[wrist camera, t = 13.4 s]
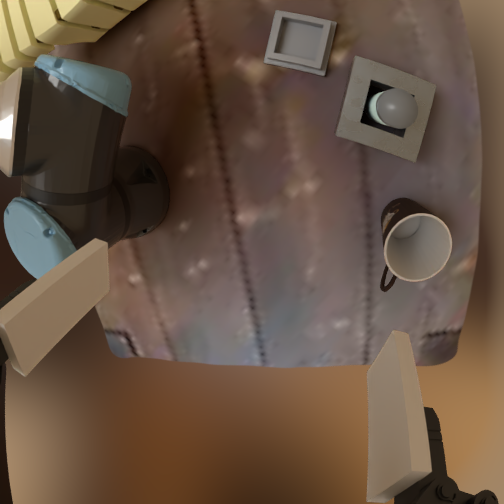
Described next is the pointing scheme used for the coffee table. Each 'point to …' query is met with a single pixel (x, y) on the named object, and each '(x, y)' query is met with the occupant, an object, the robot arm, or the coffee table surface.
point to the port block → (385, 78)
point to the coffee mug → (413, 242)
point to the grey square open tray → (300, 42)
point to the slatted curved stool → (53, 26)
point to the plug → (392, 108)
